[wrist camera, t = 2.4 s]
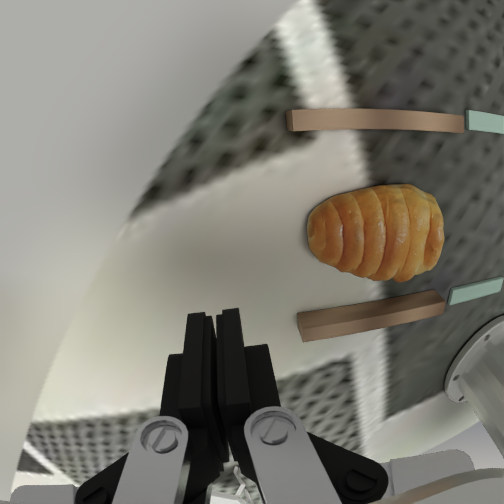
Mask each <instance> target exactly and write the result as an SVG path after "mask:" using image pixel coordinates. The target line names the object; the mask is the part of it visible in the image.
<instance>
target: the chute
mask: <svg viewBox="0 0 504 504" xmlns="http://www.w3.org/2000/svg"><path fill="white" fill-rule="evenodd" d="M286 122H287V130H289V131H306V130H331V129H403V130H427V131H443V132H456V133H464V119H463V116H460V115H451V114H442V113H432V112H420V111H406V110H387V109H303V110H289V111H286ZM445 303H446V301H445V300H444V299H443V298H442V297H441V296H440V295H439V294H438V293H437V292H436V291H435V290H429V291H424V292H420V293H415V294H409V295H404V296H399V297H394V298H389V299H383V300H378V301H372V302H366V303H360V304H355V305H348V306H342V307H336V308H330V309H323V310H317V311H310V312H303V313H297V319H298V329H299V332H300V335H301V338H302V341H303V342H308V341H314V340H320V339H326V338H332V337H338V336H344V335H349V334H354V333H360V332H365V331H370V330H375V329H380V328H385V327H389V326H394V325H399V324H403V323H407V322H412V321H416V320H420V319H424V318H429V317H433V316H437V315H441V314H443V312H444V308H445Z"/></svg>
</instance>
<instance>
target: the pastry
mask: <svg viewBox="0 0 504 504" xmlns="http://www.w3.org/2000/svg"><path fill="white" fill-rule="evenodd" d="M443 225H444V223H443V217H442V213H441V210H440V208H439V206H438V204H437V202H436V199H435V198H434V197H433V196H432V195H431V194H429V193H426V192H423V191H421V190H419V189H418V188H416V187H415V186H413V185H410V184H391V185H380V186H374V187H369V188H365V189H360V190H356V191H353V192H348V193H344V194H340V195H336V196H333V197H330V198H329V199H327V200H326V201H324V202H323V203H321V204H319V205H318V206H316V207H315V208H314V209H313V211H312V212H311V213H310V215H309V217H308V223H307V235H308V244H309V248H310V250H311V251H312V253H313V254H314V255H315V256H316V257H317V259H318V260H319V261H320V262H322V263H326V264H328V265H330V266H333V267H335V268H337V269H338V270H339V271H340V272H349V273H352V274H353V275H356V276H358V277H362V278H364V277H367V278H368V279H371V280H373V281H379V280H389V279H391V278H392V279H394V280H395V281H396V282H404V281H408V280H409V279H412V277H413V276H414V275H418V274H420V273H423V272H424V271H427V270H431V269H432V268H433V267H434V266H435V265H436V263H437V261H438V259H439V257H440V254H441V250H442V247H443V243H444V233H443Z"/></svg>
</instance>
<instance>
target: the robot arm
mask: <svg viewBox="0 0 504 504" xmlns="http://www.w3.org/2000/svg"><path fill="white" fill-rule="evenodd" d="M216 336H217V339H216ZM445 392H446V394H447V396H448V397H449V398H450V400H452V401H453V402H457V403H461V402H468V403H469V405H470V406H471V407H472V409H473V410H474V412H475V413H476V415H477V416H478V418H479V420H480V421H481V422H482V424H483V426H484V427H485V429H486V430H487V432H488V433H489V435H490V437H491V438H492V440H493V441H494V443H495V444H496V446H497V448H498V449H499V451H500V453H501V454H502V456H503V458H504V315H503V316H500V317H498V318H496V319H494V320H493V321H491V322H489V323H488V324H487V325H485V326H484V327H483V328H482V329H480V330H479V331H478V332H477V333H476V334H475V335H474V336H473V337H472V338H471V339H470V340H469V341H468V342H467V343H466V345H465V346H464V347H463V348H462V350H461V351H460V352H459V354H458V355H457V357H456V358H455V359H454V361H453V363H452V365H451V367H450V369H449V371H448V373H447V376H446V380H445ZM228 442H229V445H230V449H231V452H232V455H233V458H234V461H238V463H239V467H240V470H241V474H243V475H244V476H246V477H247V478H249V479H251V480H252V481H254V482H255V483H256V486H257V489H258V493H259V496H260V499H261V502H262V504H504V469H502V468H488V469H478V470H475V469H474V465H473V462H472V460H471V458H470V456H469V455H468V454H466V453H465V452H464V451H460V450H457V449H456V450H446V451H441V452H436V453H431V454H425V455H419V456H413V457H406V458H399V459H391V460H390V462H388V463H377V462H375V461H374V460H371V459H369V458H366V457H364V456H361V455H359V454H356V453H354V452H351V451H349V450H347V449H344V448H342V447H340V446H337V445H335V444H333V443H331V442H328V441H326V440H324V439H322V438H320V437H317V436H315V435H313V434H311V433H309V432H307V431H306V430H305V428H304V426H303V423H302V421H301V419H300V418H299V417H298V415H297V414H296V413H294V412H293V411H291V410H290V409H287V408H284V407H281V404H280V400H279V395H278V390H277V386H276V381H275V376H274V372H273V367H272V362H271V358H270V353H269V348H268V345H267V344H262V345H255V346H247V347H244V341H243V334H242V327H241V320H240V313H239V308H234V309H226V310H222V314H221V315H216V334H215V329H214V324H213V319H212V316H206V314H205V312H200V313H191V314H188V316H187V324H186V332H185V341H184V350H183V353H181V354H170V355H169V357H168V361H167V367H166V374H165V380H164V387H163V394H162V401H161V409H160V416H158V417H155V418H151V419H149V420H148V421H146V422H144V423H143V424H142V425H141V426H140V427H139V429H138V430H137V432H136V434H135V437H134V440H133V443H132V446H131V449H130V451H129V452H128V453H127V454H126V455H124V456H123V457H121V458H120V459H119V460H117V461H116V462H114V463H113V464H111V465H110V466H108V467H107V468H106V469H104V470H103V471H101V472H100V473H98V474H97V475H95V476H94V477H92V478H91V479H89V480H88V481H86V482H85V483H83V484H82V485H81V486H80V487H75V486H74V485H73V484H72V485H24V486H20V487H18V488H17V489H15V490H14V492H13V493H12V495H11V499H10V502H9V501H1V500H0V504H210V499H211V492H212V482H213V481H214V480H215V479H216V478H218V477H219V476H220V471H224V468H223V462H229V446H228Z"/></svg>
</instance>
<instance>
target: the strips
mask: <svg viewBox="0 0 504 504" xmlns="http://www.w3.org/2000/svg"><path fill="white" fill-rule="evenodd" d="M466 129H469V130H478V131H487V132H494V133H501V134H504V116H501V115H496V114H490V113H484V112H478V111H472V110H466ZM502 282H503V277H502V276H500V277H496V278H492V279H488V280H484V281H480V282H476V283H471V284H467V285H463V286H459V287H454V288H451V290H450V295H449V299H448V304H449V305H452V304H456V303H460V302H464V301H468V300H471V299H475V298H479V297H482V296H486V295H489V294H493V293H496V292H499V291H500V289H501V286H502Z"/></svg>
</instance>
